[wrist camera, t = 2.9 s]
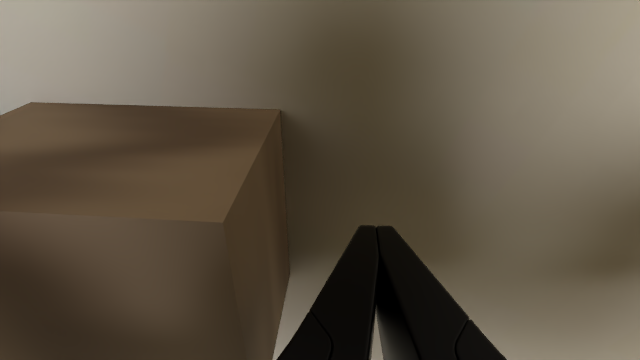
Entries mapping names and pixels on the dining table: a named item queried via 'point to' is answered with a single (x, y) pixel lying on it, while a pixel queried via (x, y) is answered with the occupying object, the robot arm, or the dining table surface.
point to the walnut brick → (141, 232)
